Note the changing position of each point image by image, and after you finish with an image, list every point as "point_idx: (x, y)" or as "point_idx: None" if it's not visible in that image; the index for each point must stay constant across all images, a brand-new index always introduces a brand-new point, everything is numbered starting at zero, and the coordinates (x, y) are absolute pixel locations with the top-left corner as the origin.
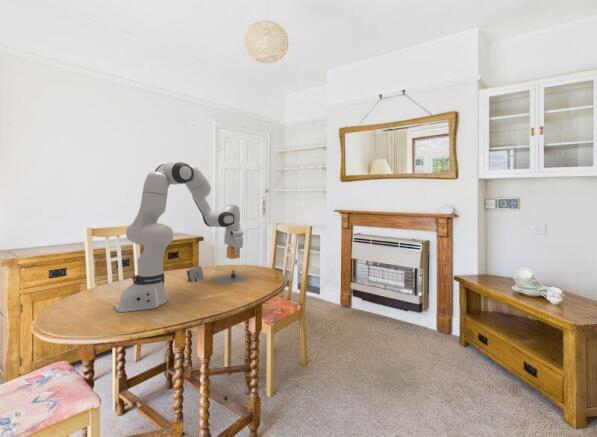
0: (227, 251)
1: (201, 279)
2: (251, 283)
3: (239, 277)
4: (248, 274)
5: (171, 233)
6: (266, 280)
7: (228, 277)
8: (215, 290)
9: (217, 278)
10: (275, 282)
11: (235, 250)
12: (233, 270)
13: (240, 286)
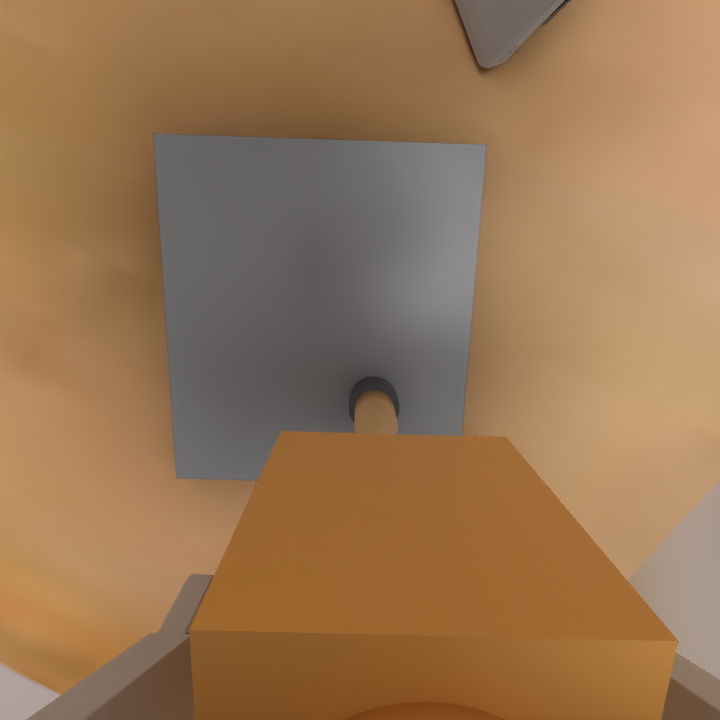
0: (507, 518)
1: (476, 10)
2: (124, 468)
3: None
4: None
5: None
6: (151, 618)
7: (369, 341)
8: (53, 43)
9: (403, 213)
10: (52, 647)
11: (90, 694)
12: (366, 426)
13: (75, 337)
